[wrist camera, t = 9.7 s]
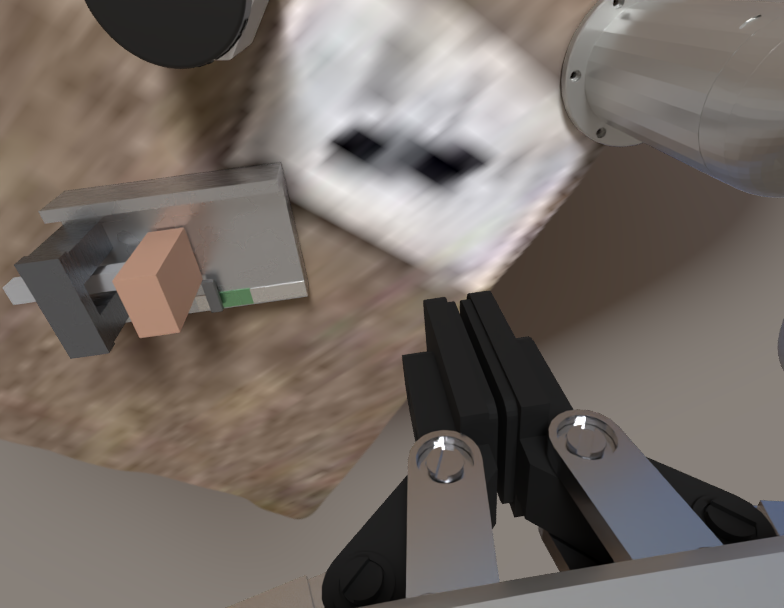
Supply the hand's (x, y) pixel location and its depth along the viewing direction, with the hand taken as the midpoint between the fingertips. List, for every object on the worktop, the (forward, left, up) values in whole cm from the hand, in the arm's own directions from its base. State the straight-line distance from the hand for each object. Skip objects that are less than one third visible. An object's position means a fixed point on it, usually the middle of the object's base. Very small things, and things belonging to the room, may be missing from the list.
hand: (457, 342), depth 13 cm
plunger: (+23, +12, -29) cm, 39 cm away
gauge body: (+17, +10, -32) cm, 38 cm away
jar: (+10, -9, -32) cm, 35 cm away
